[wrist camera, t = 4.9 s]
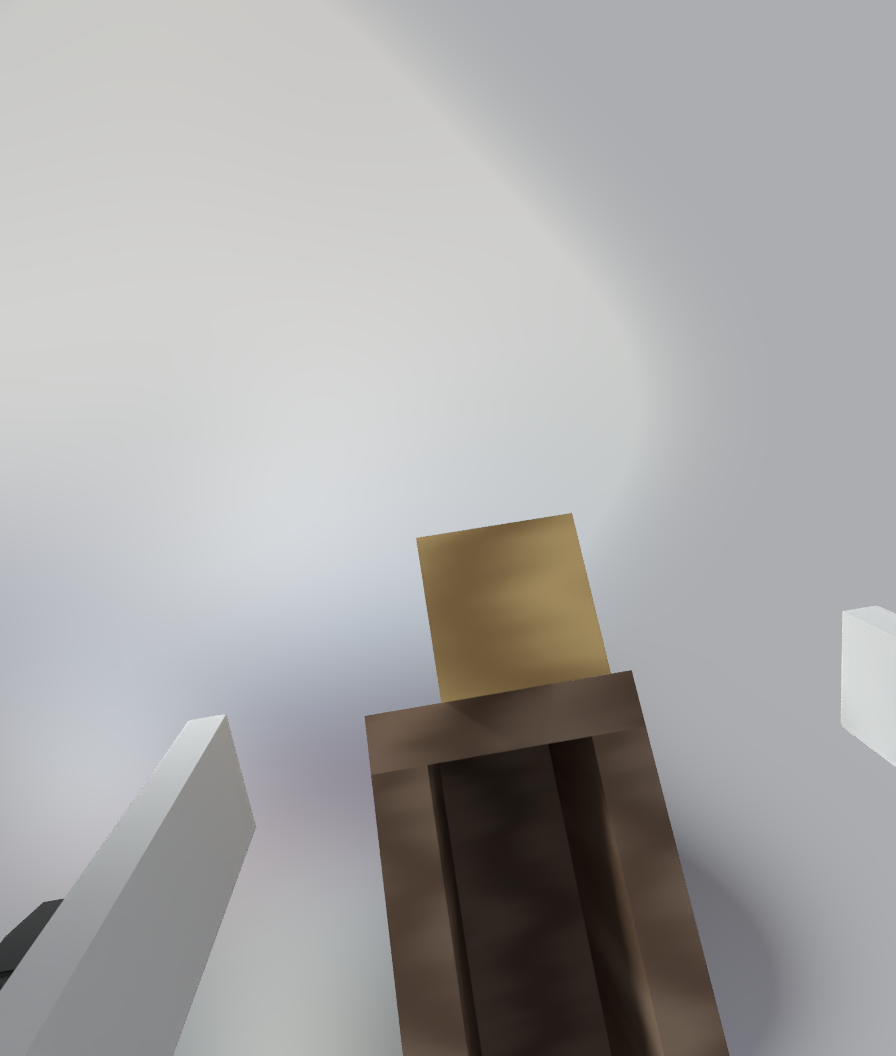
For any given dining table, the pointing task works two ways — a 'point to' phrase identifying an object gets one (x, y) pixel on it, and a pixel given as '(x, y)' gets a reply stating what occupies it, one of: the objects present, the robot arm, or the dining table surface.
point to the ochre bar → (510, 608)
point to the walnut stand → (536, 879)
